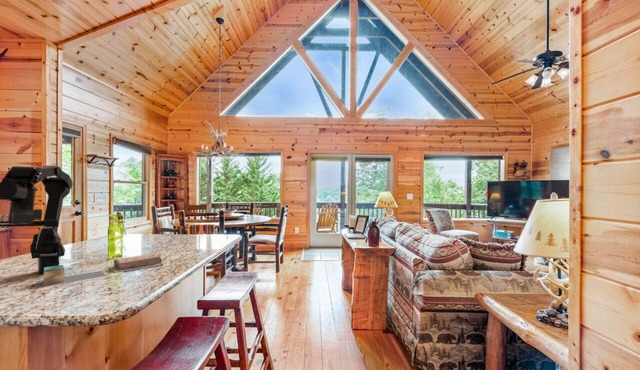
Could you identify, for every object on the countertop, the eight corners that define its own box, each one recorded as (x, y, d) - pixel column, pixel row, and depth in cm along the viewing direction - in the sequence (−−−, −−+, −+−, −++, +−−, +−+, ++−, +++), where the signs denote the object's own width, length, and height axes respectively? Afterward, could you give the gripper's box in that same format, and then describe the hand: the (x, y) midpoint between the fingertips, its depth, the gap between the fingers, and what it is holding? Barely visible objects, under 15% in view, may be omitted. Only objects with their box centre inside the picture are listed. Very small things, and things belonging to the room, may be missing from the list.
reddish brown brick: (156, 251, 135) (163, 255, 128) (156, 262, 135) (163, 266, 128) (108, 258, 122) (113, 262, 115) (108, 269, 122) (113, 275, 115)
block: (44, 285, 100) (44, 270, 100) (43, 281, 104) (43, 267, 104) (64, 281, 104) (64, 267, 104) (62, 278, 107) (62, 264, 107)
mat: (36, 289, 98) (36, 287, 98) (35, 282, 104) (35, 281, 104) (106, 276, 111) (106, 275, 111) (101, 271, 118) (101, 270, 118)
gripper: (-20, 199, 86) (-26, 253, 84) (63, 201, 101) (59, 248, 98) (-20, 202, 94) (-27, 252, 91) (57, 204, 108) (53, 247, 105)
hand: (17, 250), depth 96 cm, fingers open, 9 cm apart
